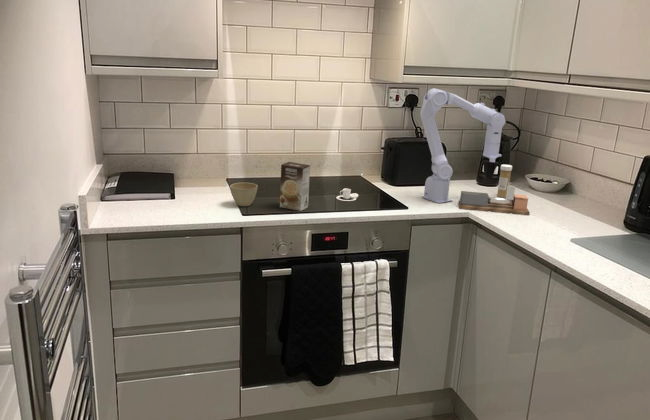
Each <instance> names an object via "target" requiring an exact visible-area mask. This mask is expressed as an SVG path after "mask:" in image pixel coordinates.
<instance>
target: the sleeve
mask: <svg viewBox="0 0 650 420" xmlns="http://www.w3.org/2000/svg"><path fill="white" fill-rule="evenodd" d="M488 197H490V195H489V193H488V192H478V191H468V190H467V191H466V190H465V191H464V190H461V191H460V197H459V201H460V205H469V206H480V207H487V205H488Z"/></svg>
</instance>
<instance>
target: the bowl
mask: <svg viewBox="0 0 650 420" xmlns="http://www.w3.org/2000/svg"><path fill="white" fill-rule="evenodd" d="M229 189H230V193H231V196H232V198H233V200H234V203H235V204H236V205H237V206H239V207H250V206H251V205H252V203H254V200H255V198H256V196H257V192H258V184H256V183H253V182H235V183H232V184H231V185H229Z"/></svg>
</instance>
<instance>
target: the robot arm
mask: <svg viewBox="0 0 650 420" xmlns="http://www.w3.org/2000/svg"><path fill="white" fill-rule="evenodd" d="M422 101H423V103H422V105H421V110H420V114H419V116H420V119H421V123H422V126H423V129H424V134H425V137H426V141H427V143H428V144H427V145H428V147H429V152H430V155H431V162H432V163H431V171H432V173H433V174H432V175H431V176H428V177H427V178H426V180H425V182H424V183H425V184H424V189H423V190H424V192H423V196H422V198H423V199H424V200H429V201H432V202H434V203H437V204H441V203H443V204H444V203H448V202H449V203H450V202H453V199H451V198H449V192H450V184H451V177H452V176H453V173H454V172H453V171H454V170H453V168H452V166H451V165H450V164H449V161H448V159H447V157H446V154H445V151H444V148H443V144H442V141H441V136H440V133H439V130H438V126H437V123H436V118H435V116H436V114H437V113H438V112H439V111H440V109H441V108H443V107H444V106H445V105H455V106H457V107H459V108H461V109H463V110H466V111H467V112H469V114H470V116H471V117H472V118H474V119H476V120H478V121H480V122H482V123H484V124H486V131H485V139H484V147H483V153H482V156H481V159H482V163H483V164H482V165H483V175H485V179H486V180H492V178H493V176H494V174H495V171H496V168H497V167H498V166H499V165H500V162H499V161H496V160H497V158H499V157H500V158H501V157H502V154H501V153H499V152H500V147H501V141H502V139H501V138H502V131H503V127H504V126H505V125H506V117H505V115H504V114H503V113H501V112H499V111H496V109H495V108H490V107H488V106H486V103H484V102H477V103H472V102H470V101H468V100H466V99H465V98H462V97H460V96H459V95H457V94H455V93H452V92H448V91H445V90H442V89H439V88H435V87H433V88H431V89H429V90H428V91H427V92H426V94H424V96H423V100H422Z"/></svg>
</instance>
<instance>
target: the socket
mask: <svg viewBox="0 0 650 420" xmlns="http://www.w3.org/2000/svg"><path fill="white" fill-rule="evenodd" d="M513 199H515V203H514V206H512V207H513V209H514V210H521V211H526V209H528V203H529V198H528V196H527V195H525V194H515V193H514V198H513Z"/></svg>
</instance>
